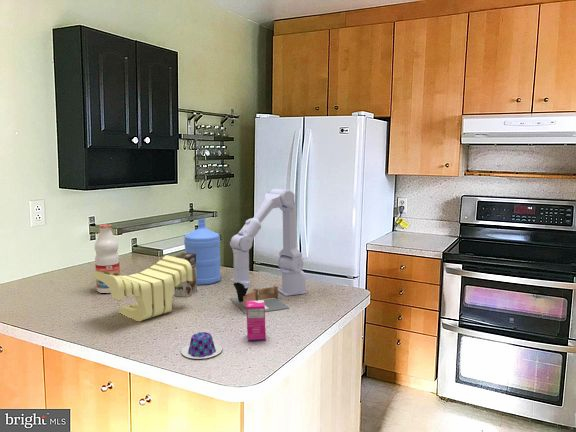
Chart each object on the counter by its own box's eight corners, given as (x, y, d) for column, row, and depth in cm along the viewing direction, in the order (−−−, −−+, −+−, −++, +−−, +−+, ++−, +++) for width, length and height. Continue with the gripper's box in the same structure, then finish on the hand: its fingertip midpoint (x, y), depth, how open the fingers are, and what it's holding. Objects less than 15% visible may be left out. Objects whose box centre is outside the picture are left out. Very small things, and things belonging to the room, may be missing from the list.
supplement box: (246, 334, 154) (246, 300, 152) (265, 334, 154) (265, 299, 152) (246, 341, 148) (246, 306, 146) (265, 341, 148) (265, 305, 147)
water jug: (227, 279, 218) (226, 218, 214) (204, 287, 205) (202, 223, 201) (202, 274, 226) (200, 215, 222) (178, 282, 213) (176, 220, 209)
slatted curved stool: (121, 330, 157) (118, 278, 154) (96, 319, 167) (93, 270, 164) (193, 307, 180) (192, 261, 177) (167, 298, 190) (166, 255, 187)
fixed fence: (276, 297, 191) (276, 286, 190) (278, 299, 189) (278, 287, 189) (252, 300, 187) (252, 289, 186) (254, 302, 185) (254, 290, 185)
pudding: (172, 355, 139) (171, 338, 138) (199, 341, 149) (198, 325, 149) (205, 364, 133) (204, 346, 132) (230, 348, 144) (230, 332, 143)
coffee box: (188, 297, 192) (187, 258, 189) (174, 296, 193) (172, 257, 191) (197, 290, 200) (196, 253, 198) (183, 289, 202) (182, 252, 199)
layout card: (270, 294, 195) (270, 293, 195) (289, 308, 178) (289, 307, 178) (230, 299, 189) (230, 298, 189) (245, 314, 171) (245, 313, 171)
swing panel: (253, 300, 186) (252, 290, 185) (255, 300, 185) (255, 290, 185) (243, 307, 178) (243, 296, 177) (246, 307, 177) (245, 297, 177)
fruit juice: (120, 286, 206) (116, 222, 202) (121, 292, 197) (118, 226, 193) (96, 289, 202) (92, 224, 198) (97, 295, 194) (93, 227, 190)
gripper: (225, 263, 183) (226, 297, 185) (236, 272, 170) (237, 308, 172) (243, 261, 186) (243, 295, 188) (255, 270, 173) (255, 306, 175)
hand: (241, 301), depth 180 cm, fingers closed
